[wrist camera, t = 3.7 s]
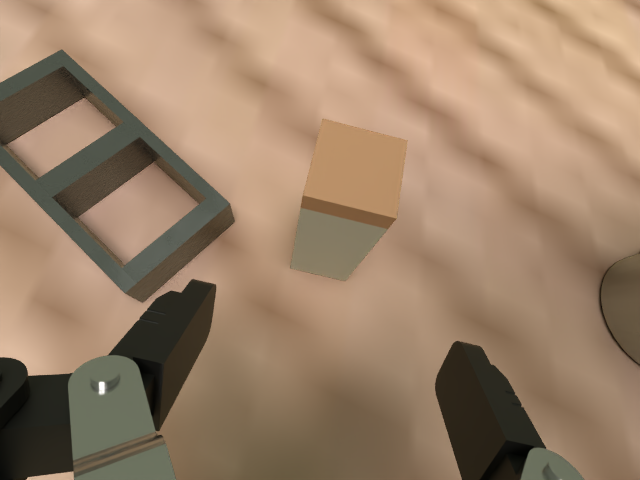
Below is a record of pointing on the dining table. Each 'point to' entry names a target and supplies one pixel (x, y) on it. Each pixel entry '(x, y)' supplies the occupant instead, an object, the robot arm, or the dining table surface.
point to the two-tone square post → (347, 198)
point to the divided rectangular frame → (104, 173)
